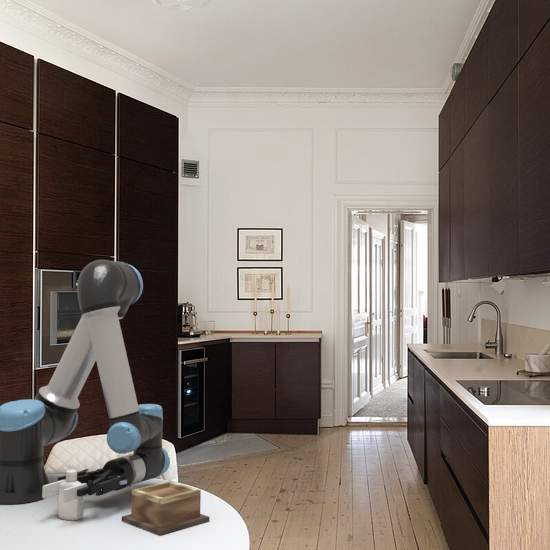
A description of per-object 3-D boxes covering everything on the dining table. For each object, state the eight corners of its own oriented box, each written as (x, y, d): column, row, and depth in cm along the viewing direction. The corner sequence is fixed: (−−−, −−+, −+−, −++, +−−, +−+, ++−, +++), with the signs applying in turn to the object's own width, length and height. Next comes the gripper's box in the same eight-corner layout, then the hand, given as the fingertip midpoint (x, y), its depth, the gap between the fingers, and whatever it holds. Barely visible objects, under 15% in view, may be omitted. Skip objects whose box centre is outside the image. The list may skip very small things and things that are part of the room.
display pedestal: (121, 521, 157) (122, 489, 157) (170, 508, 167) (171, 478, 168) (159, 535, 147) (160, 502, 148) (209, 521, 158) (210, 490, 158)
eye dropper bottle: (66, 522, 155) (67, 468, 156) (56, 516, 159) (57, 464, 160) (84, 519, 158) (86, 465, 158) (74, 513, 162) (75, 461, 163)
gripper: (152, 492, 170) (85, 517, 150) (94, 482, 179) (23, 504, 159) (153, 461, 171) (86, 482, 150) (95, 453, 179) (24, 471, 159)
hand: (54, 494), depth 154 cm, fingers closed on eye dropper bottle, 6 cm apart
